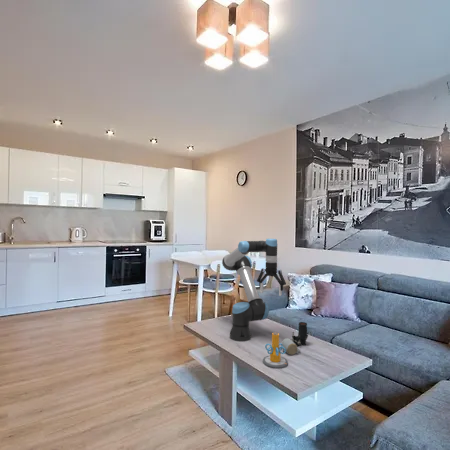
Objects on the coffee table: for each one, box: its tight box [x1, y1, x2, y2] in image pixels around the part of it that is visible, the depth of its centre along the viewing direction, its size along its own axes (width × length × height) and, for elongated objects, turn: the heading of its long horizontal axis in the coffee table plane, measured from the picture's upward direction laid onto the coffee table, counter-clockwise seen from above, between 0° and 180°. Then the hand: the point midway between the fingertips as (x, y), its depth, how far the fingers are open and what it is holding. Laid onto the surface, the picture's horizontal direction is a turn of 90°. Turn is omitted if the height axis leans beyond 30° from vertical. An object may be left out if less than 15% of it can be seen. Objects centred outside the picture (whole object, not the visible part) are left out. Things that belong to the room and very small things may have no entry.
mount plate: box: [262, 355, 289, 369], centre depth 173 cm, size 14×14×1 cm
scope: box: [291, 321, 309, 348], centre depth 201 cm, size 8×14×10 cm
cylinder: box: [264, 332, 287, 362], centre depth 173 cm, size 12×10×15 cm
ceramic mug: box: [281, 337, 301, 356], centre depth 188 cm, size 11×8×8 cm
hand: (270, 294), depth 202 cm, fingers open, 13 cm apart
